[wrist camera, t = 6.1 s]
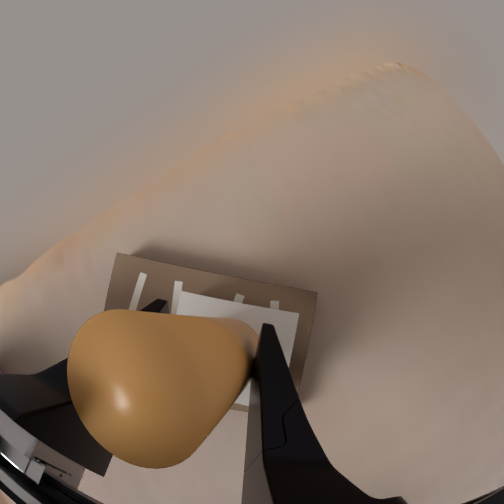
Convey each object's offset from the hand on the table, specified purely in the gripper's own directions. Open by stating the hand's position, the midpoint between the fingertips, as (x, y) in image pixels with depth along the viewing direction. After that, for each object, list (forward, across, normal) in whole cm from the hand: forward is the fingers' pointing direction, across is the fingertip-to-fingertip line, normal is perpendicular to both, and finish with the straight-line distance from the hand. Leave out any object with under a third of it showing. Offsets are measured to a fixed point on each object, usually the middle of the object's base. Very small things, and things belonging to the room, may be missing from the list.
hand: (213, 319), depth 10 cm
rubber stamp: (+3, -1, +5) cm, 6 cm away
